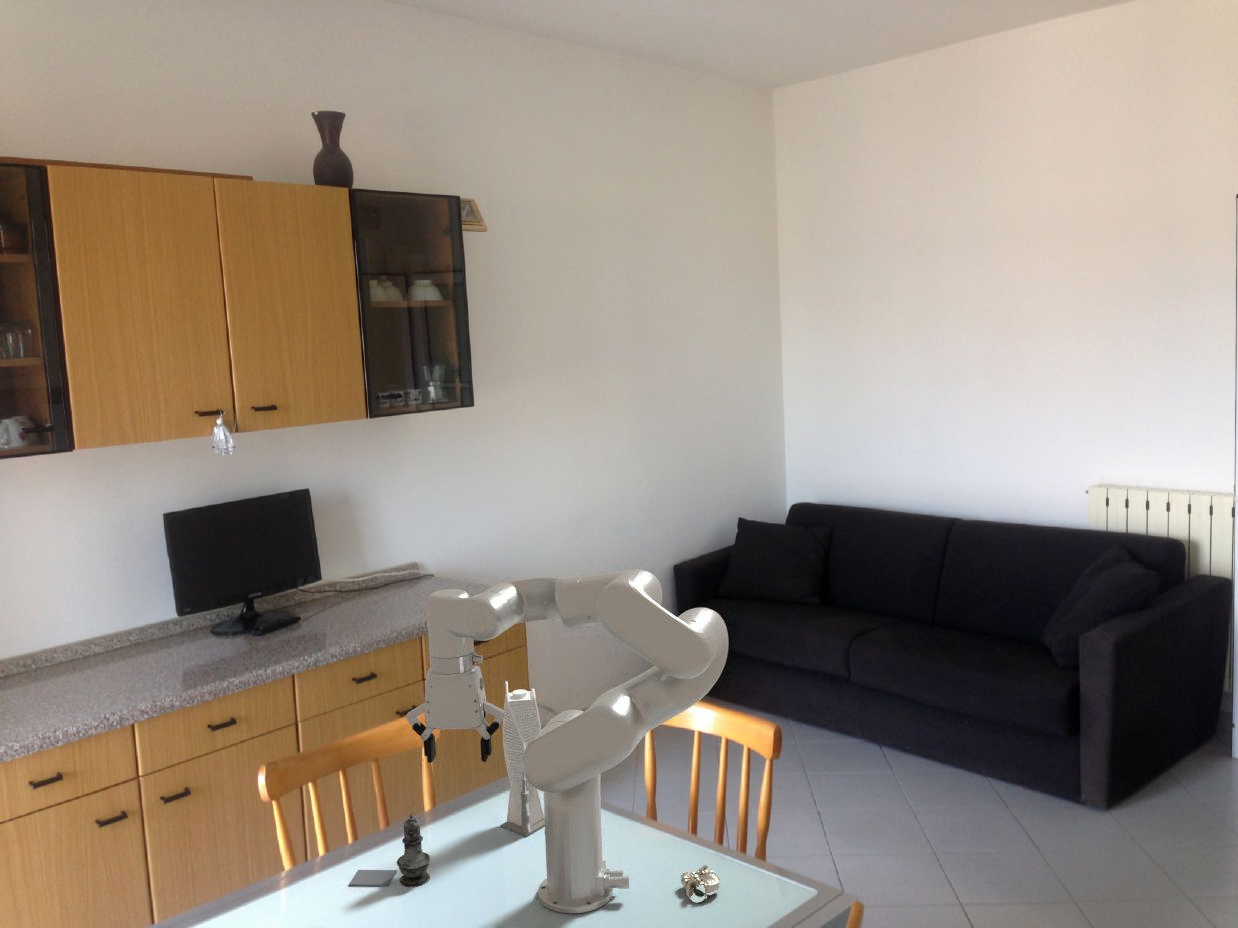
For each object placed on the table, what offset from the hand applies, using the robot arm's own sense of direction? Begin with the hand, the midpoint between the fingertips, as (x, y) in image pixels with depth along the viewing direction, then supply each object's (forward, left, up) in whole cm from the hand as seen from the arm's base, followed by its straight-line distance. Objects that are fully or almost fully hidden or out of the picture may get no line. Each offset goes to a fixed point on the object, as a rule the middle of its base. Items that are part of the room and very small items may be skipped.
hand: (458, 759), depth 178 cm
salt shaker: (+9, 0, -22) cm, 24 cm away
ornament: (-41, +3, -23) cm, 47 cm away
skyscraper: (-7, -22, -22) cm, 32 cm away
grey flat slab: (+16, 0, -22) cm, 27 cm away
